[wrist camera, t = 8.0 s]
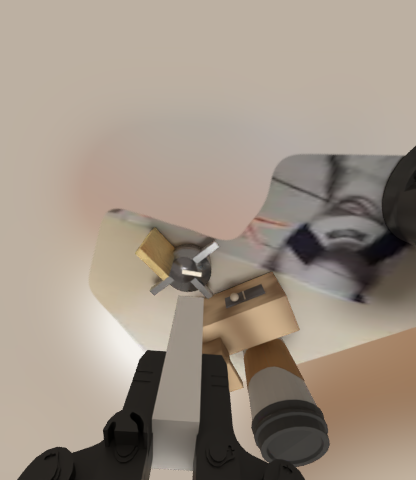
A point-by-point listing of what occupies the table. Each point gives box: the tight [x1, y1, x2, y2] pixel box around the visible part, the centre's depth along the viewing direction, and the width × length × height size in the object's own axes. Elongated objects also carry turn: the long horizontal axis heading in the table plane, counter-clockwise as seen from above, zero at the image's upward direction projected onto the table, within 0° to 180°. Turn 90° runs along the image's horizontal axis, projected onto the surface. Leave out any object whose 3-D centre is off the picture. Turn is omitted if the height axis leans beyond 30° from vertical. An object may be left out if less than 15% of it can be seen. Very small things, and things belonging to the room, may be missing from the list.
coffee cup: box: [243, 337, 330, 467], centre depth 30 cm, size 8×8×15 cm
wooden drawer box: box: [202, 272, 300, 392], centre depth 29 cm, size 14×7×11 cm, turn 115°
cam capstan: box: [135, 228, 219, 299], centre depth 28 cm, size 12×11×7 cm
